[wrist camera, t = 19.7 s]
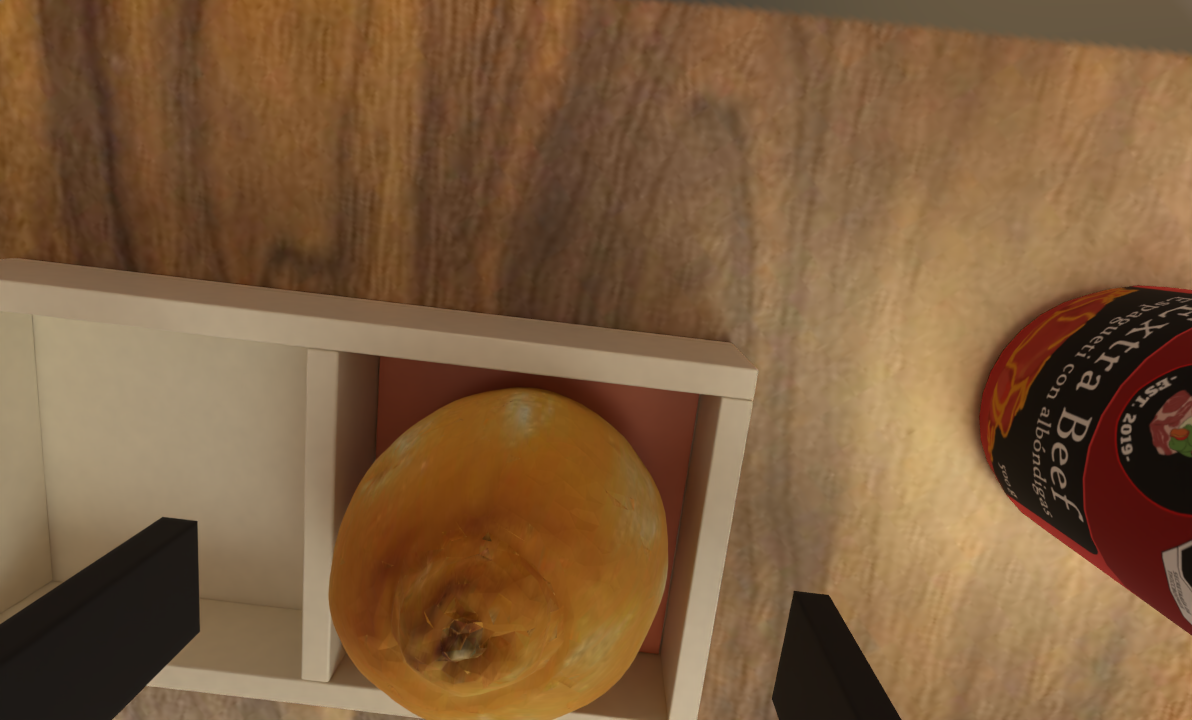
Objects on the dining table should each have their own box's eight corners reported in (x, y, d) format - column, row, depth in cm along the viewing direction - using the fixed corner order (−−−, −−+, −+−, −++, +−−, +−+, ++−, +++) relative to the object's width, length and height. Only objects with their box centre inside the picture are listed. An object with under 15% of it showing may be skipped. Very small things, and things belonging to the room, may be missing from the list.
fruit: (457, 276, 16) (275, 573, 10) (739, 414, 17) (728, 748, 11) (390, 450, 21) (248, 705, 15) (606, 543, 22) (552, 811, 17)
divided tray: (16, 257, 19) (-116, 265, 15) (732, 342, 19) (759, 369, 15) (44, 590, 21) (-66, 662, 18) (679, 665, 21) (692, 750, 18)
